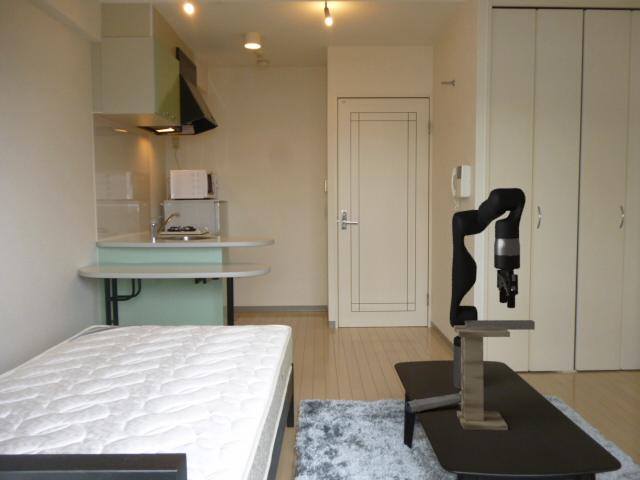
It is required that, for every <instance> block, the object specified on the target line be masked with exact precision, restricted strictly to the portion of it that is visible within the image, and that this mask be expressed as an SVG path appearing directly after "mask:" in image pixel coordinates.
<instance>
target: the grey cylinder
mask: <svg viewBox="0 0 640 480" xmlns="http://www.w3.org/2000/svg"><path fill="white" fill-rule="evenodd" d="M452 404H457V405H458V406H457V407H458V408H459V409H460V410H461V390H460V391H459V392H458V393H452V394H451V393H450V394H446V395H440V396H439V395H438V396H433V397H427V398H426V397H425V398H421V399H416V398H415V399H414V400H410V401H406V402H405V408H406V411H407V412H408V414H414V413H420V412H422V411H425V410H431V409H435V408H440V407H444V406H448V405H452Z"/></svg>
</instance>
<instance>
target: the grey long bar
mask: <svg viewBox="0 0 640 480" xmlns="http://www.w3.org/2000/svg"><path fill="white" fill-rule="evenodd" d="M535 322H536V321H534V320H532V319H517V320H516V319H515V320H514V319H510V320H509V319H508V320H507V319H505V320H503V319H502V320H501V319H500V320H499V319H498V320H497V319H492V320H491V319H490V320H489V319H485V320H484V319H483V320H481V319H479V320H465V329H466V330H508V331H510V330H521V331H522V330H528V331H529V330H532V331H533V330H535V328H536V327H535V325H536V324H535Z"/></svg>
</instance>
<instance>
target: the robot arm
mask: <svg viewBox="0 0 640 480" xmlns="http://www.w3.org/2000/svg"><path fill="white" fill-rule="evenodd" d="M526 200H527V199H526V195H525V192H524V190H523V189H522V188H519V187H504V188H503V187H502V188H501V187H499V188H495V189H492V190H491V191H490V192H489V195H488V197H487V198H486V199H485V200H484V201H483V202H481V203H480V205H479V206H478V208H477V209H469V210H468V209H467V210H461V211H456V212H454V214H453V215H452V219H451V229H452V230H451V231H452V232H451V236H452V262H451V264H452V265H451V297H450V307H449V324H450V326H451V328H453V329H454V326H465V320H478V319H479V318H478V317H479V314H478V313H479V312H478V309H477V307H476V306H474V305H461V303H462V301H463V299H464V297H465V296H466V295H467V294H468V293H469V291H471V289H472V288H473V287H474V285H475V284H476V282H477V273H478V266H477V262H476V260H475V258H474V257H473V256H472V255H471V253H470V252H469V250H468V249H467V247H466V244H465V237H468V236H474V235H478V234H481V233H482V232H485V230H486V229H487V227H489V226H490V224H491V223H492V222H493V221H494V220H496V221H495V223H494V243H493V244H494V245H493V248H494V249H493V267H494V269H496V278H497V279H496V288H497V289H498V291H499V293H498V294H499V295H498V296H499V297H498V298H499V303H500V304H506V307H507V308H508V309H515V308H516V296H517V295H519V275H518V274H515V271H514V270H519V269H520V268H521V244H520V243H521V242H520V226H521V225H520V224H521V220H522V216H523V213H524V208H525V205H526V203H527V202H526ZM506 212H509V213H508V215H507V216H506V217H504V218H500V217H502V216H503V215H505V213H506ZM499 218H500V219H499ZM453 387H454V388H455V389H458V390H461V337H459V335H458V334H457V335H456V336H455V337H453Z"/></svg>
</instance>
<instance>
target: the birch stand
mask: <svg viewBox="0 0 640 480" xmlns="http://www.w3.org/2000/svg"><path fill="white" fill-rule="evenodd" d="M453 331H454V332H455V334H457V336H458V335H459V337H461V389H460V391H461V409H460V410H456V415H457V418H458V420H459V423H460V424H461V426H462V428H463V430H464V431H465V430H466V431H468V430H469V431H508V430H509V426H508V424H507V422H506V421H505V420H504V417H502V416H501V414H500V412H499V411H498V410H487V411H486V410H484V407H485V406H484V403H485V402H484V401H485V400H484V338H510V337H511V332H510V330H466V329H465V326H454V328H453Z"/></svg>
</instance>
